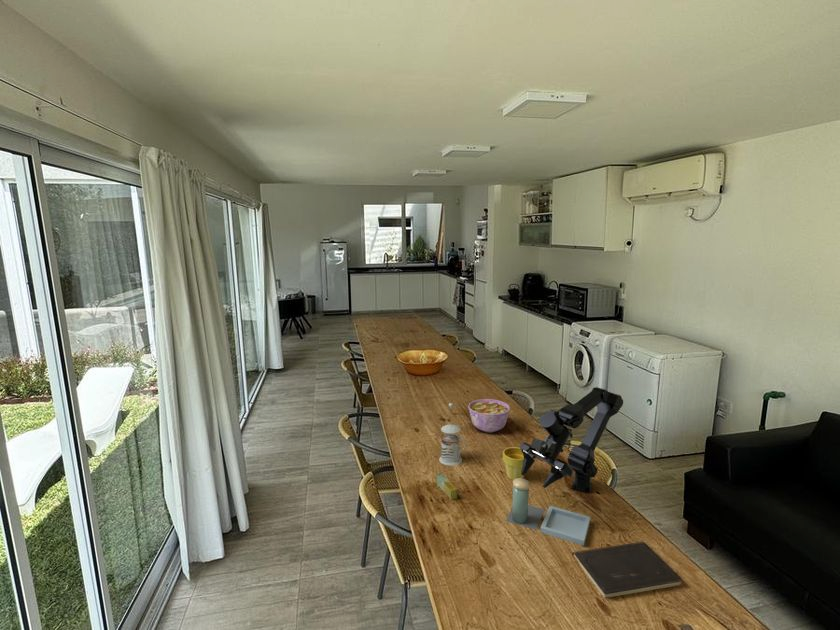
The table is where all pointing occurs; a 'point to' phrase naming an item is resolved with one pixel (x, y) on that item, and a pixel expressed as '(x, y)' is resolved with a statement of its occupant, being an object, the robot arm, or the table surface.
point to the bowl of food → (489, 414)
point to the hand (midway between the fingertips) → (532, 481)
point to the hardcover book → (626, 569)
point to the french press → (453, 456)
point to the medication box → (446, 486)
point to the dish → (566, 525)
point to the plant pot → (513, 462)
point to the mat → (529, 517)
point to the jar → (520, 500)
